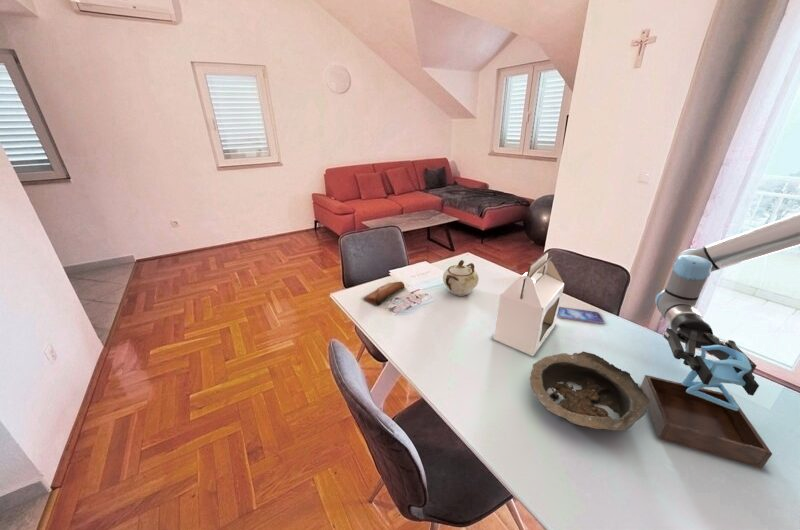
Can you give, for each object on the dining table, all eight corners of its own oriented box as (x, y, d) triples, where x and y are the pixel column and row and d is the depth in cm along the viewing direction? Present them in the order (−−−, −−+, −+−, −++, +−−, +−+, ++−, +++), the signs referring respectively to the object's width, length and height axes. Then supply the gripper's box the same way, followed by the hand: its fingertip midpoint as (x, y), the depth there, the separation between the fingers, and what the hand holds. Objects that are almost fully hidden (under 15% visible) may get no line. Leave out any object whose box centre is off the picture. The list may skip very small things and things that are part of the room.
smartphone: (555, 306, 123) (598, 312, 119) (555, 308, 123) (597, 314, 119) (558, 316, 116) (604, 322, 112) (558, 318, 117) (603, 324, 113)
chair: (677, 376, 76) (695, 336, 72) (720, 386, 74) (743, 345, 69) (690, 400, 70) (711, 357, 65) (738, 411, 67) (764, 368, 62)
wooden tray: (722, 409, 79) (731, 394, 77) (761, 470, 65) (772, 454, 63) (639, 388, 85) (645, 374, 83) (658, 439, 71) (665, 424, 69)
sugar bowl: (460, 306, 125) (463, 272, 119) (431, 293, 135) (432, 261, 129) (486, 289, 138) (490, 258, 132) (458, 279, 147) (460, 249, 141)
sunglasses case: (390, 283, 142) (395, 273, 138) (400, 294, 140) (406, 284, 136) (362, 299, 129) (367, 289, 125) (373, 311, 127) (379, 301, 123)
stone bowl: (656, 416, 77) (668, 389, 72) (600, 477, 65) (610, 449, 61) (562, 358, 96) (567, 334, 91) (506, 397, 84) (509, 371, 80)
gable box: (532, 357, 97) (549, 276, 86) (492, 340, 105) (503, 264, 93) (554, 326, 112) (571, 253, 101) (518, 313, 120) (530, 244, 109)
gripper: (729, 345, 82) (785, 413, 63) (640, 328, 89) (666, 384, 70) (741, 321, 79) (805, 385, 59) (648, 305, 86) (678, 357, 67)
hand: (730, 384), depth 65 cm, fingers closed on chair, 6 cm apart
